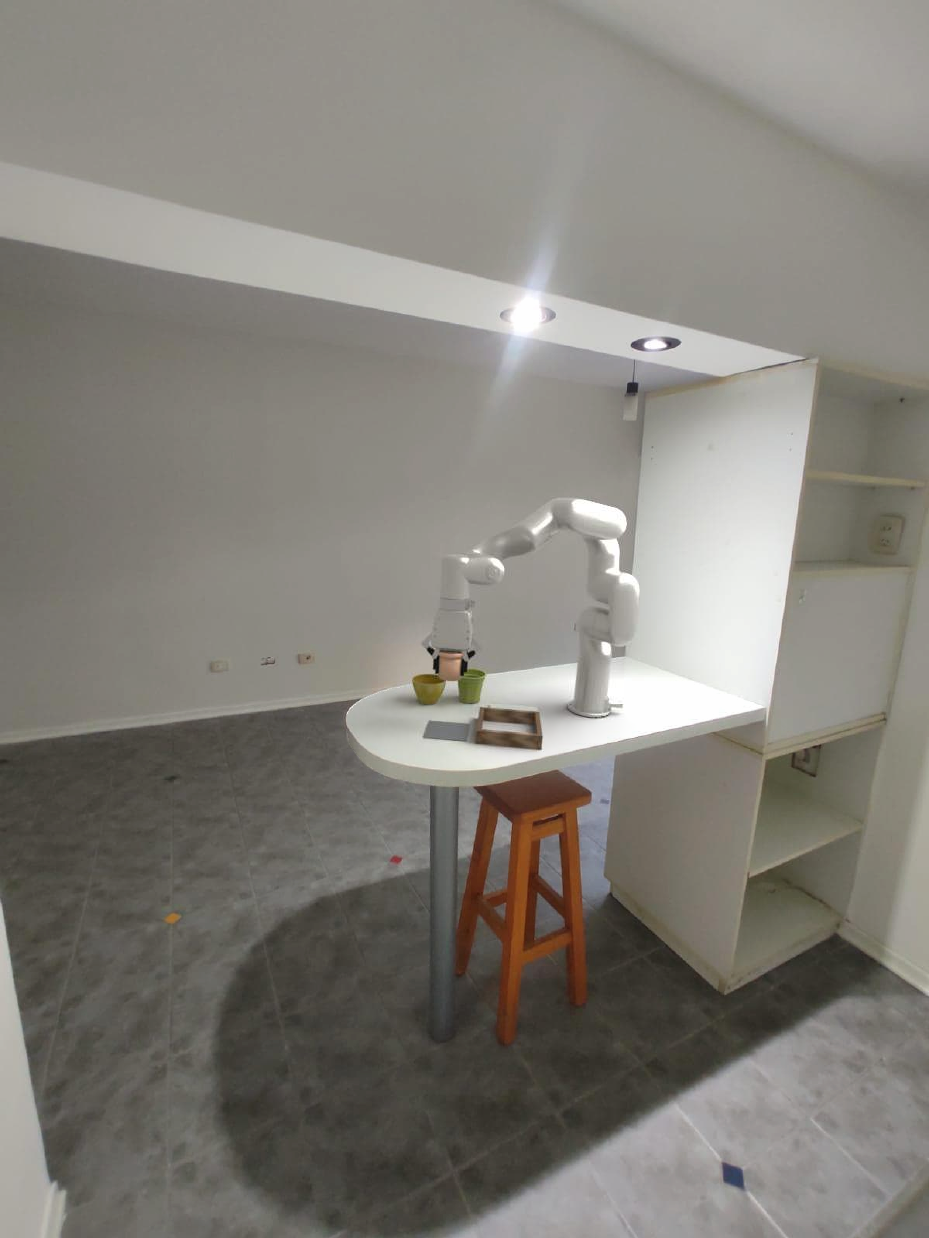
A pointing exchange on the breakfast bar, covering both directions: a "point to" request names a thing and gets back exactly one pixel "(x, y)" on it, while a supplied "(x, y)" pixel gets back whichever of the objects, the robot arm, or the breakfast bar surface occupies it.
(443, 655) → the terracotta pot
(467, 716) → the breakfast bar surface
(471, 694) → the plant pot
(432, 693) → the flower pot
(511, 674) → the breakfast bar surface
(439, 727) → the slate mat
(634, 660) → the breakfast bar surface
